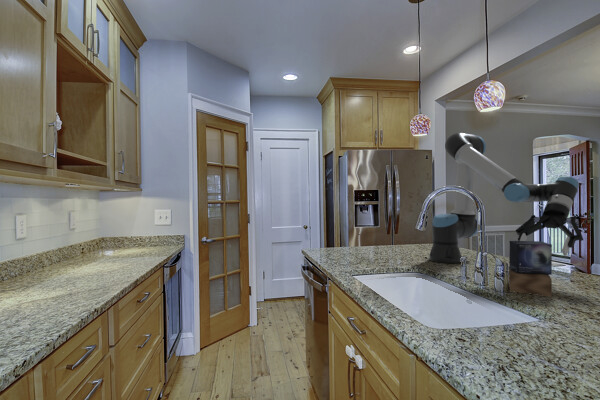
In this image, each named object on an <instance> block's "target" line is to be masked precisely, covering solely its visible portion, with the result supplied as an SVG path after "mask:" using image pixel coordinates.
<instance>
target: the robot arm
mask: <svg viewBox="0 0 600 400" xmlns="http://www.w3.org/2000/svg"><path fill="white" fill-rule="evenodd" d="M444 147H445V151H446V153H447V154H448V155H449V156H450V157H452V158H453V159H454V162H455V163H456V164H457V170H456V171H457V172H456V183H455V187H456V186H461V187H464V188H466V189H468V190H469V191H471V192H473V193H474V194H475V185H476V175H477V174H478V175H480V176H481V177H482V178H483V179H485V180H486V181H487V182H489V183H490V184H491V185H493V186H494V187H495V188H496V189H498V190H500V191H501V192H502V193H503V194H504V197H505V199H506V200H507V201H509V202H512V203H513V202H514V203H536V202H546V204H545V206H544V209H543V211H542V215H541V216H536V215H535V214H533V215H531V217H530V218H529V219H528V220H527V221H525V222H524V223H523V224H522V225H520V226H519V227H518V228H516V229H515V232H516V234H517V236H518V237H517V241H528V240H527V239H528V236H530V235H531V234H533V233H535V232H537V231H539V230H543V229H545V228H546V229H560V230H561V231H562V232H563V233H564V234H565V235H566V237H565V241H564V243H563V245H562V248H561V252H562V254H563V255H562V256H564V257H567V256H568V254H569V250H570V248H571V249H572V248H574V246H575V243H576V241H581V242H582V241H584V237H583V234H582V232H581V230H580V228H579V226H578V220H577V218H576V216H571V217H569V214H570V211H571V210H572V207H573V204H574V200H575V198H576V196H577V194H578V192H579V187H580V183H579V181H578V179H576V178H574V177H572V176H565V175H564V176H561V177H558V178H557V179H556V180H555V181H554V182H548V183H536V184H535V183H534V184H533V183H524V182H523V181H522V180H520V179H518V178H517V177H516V176H515V175H513V174H512V173H509V172H508V171H507V170H506V169H504V168H502V167H501V166H499V165H498V164H497V163H495V162H494V161H492V160H491V159H490V158H488V157H487V156H485V155H484V154H485V151H486V150H487V144H486V141H485V140H484V139H483V137H481V136H479V135H476V134H469V133H463V132H457V133H456V132H455V133H453V134H451V135H449V137H448V138H447V139H446V141H445V143H444ZM453 207H454V209H453V210H451V211H450V213H442V214H437V215H434V216H433V218H432V222H431V223H432V224H431V225H432V247H431V250H430V252H429V255H428V258H429V260H430V261H431V262H436V263H443V264H461V263H460V258H461V257H462V258H463V256H462V253H461V250H460V247H459V239H468V238H472V237H474V236H475V235H476V234H478V232H477V221H478V219H477V217H476V212H475V211H474V200H472V199H470V198H469V197H468V196H466V195H464V194H462V193H459V192H456V191H455V193H454V206H453ZM567 223H569V224H570V225H571V226H572V228H573V230H574V232H575V234H574V232H572V231H571V230H570V229H569V228H568V227H567V226H566V225H565V224H567Z"/></svg>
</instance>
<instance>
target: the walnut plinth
mask: <svg viewBox="0 0 600 400" xmlns="http://www.w3.org/2000/svg"><path fill="white" fill-rule="evenodd" d="M552 285H553V283H552V278H551V276H550V275H547V274H524V273H516V272H514V271H512V270H510V269H509V268H508V288H509V287H510V290H509V292H510V291H515V292H514V293H517V292H522V293H521V294H524V293H531V294H530V295H532V294H538V295H537V296H540V295H543V297H547V296H549V297H550V298H552V297H553V296H552V295H553V294H552V291H553V290H552Z"/></svg>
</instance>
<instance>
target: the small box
mask: <svg viewBox="0 0 600 400" xmlns="http://www.w3.org/2000/svg"><path fill="white" fill-rule="evenodd" d="M552 251H553V244H551V243H548V242H544V241H542V240H541V241H538V240H537V241H535V240H526V241H518V240H509V266H508V270H509V269H510V270H512V271H514V272H516V273H524V274H547V275H549V276H550V275H552V269H553V268H552V265H553V264H552V263H553V262H552V258H553V257H552V254H553V253H552Z"/></svg>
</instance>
